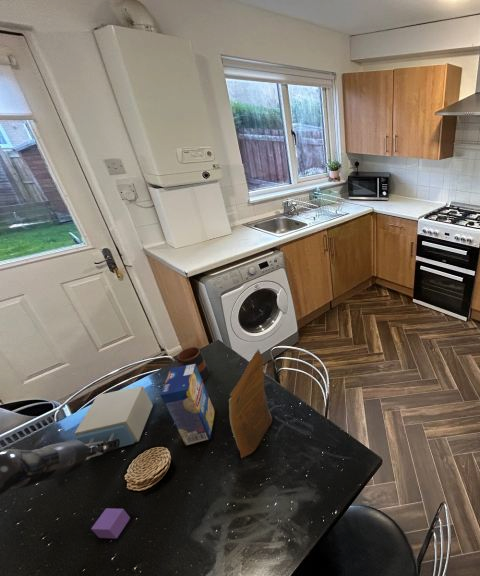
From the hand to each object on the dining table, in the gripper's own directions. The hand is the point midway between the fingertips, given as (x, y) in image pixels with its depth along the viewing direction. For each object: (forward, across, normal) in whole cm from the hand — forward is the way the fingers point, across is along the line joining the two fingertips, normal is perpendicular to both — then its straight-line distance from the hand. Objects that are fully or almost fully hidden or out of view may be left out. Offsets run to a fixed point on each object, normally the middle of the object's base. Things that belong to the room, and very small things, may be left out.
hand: (99, 447), depth 88 cm
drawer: (+9, 0, -2) cm, 9 cm away
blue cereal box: (+7, -24, +2) cm, 25 cm away
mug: (+24, -18, -15) cm, 34 cm away
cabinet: (+12, 0, -4) cm, 13 cm away
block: (-11, -9, +19) cm, 24 cm away
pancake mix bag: (+1, -42, +8) cm, 43 cm away
